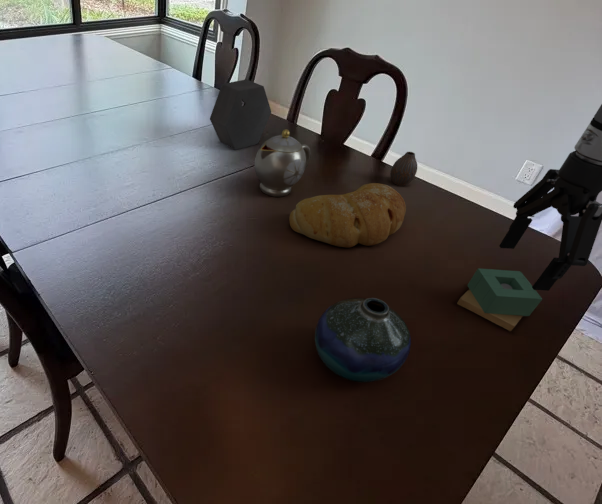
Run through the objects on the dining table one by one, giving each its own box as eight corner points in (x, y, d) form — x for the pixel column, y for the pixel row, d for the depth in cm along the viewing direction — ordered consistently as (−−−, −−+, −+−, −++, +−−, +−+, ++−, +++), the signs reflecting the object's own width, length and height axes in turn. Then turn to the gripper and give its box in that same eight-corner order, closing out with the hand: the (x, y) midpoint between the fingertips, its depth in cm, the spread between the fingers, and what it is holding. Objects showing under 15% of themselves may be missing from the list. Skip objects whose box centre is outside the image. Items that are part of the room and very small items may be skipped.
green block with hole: (508, 288, 94) (520, 271, 91) (528, 316, 88) (542, 299, 85) (467, 285, 94) (477, 268, 91) (484, 313, 88) (496, 295, 85)
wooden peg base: (477, 282, 97) (489, 264, 94) (529, 308, 92) (544, 289, 88) (456, 303, 92) (468, 284, 88) (510, 331, 87) (525, 312, 83)
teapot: (268, 207, 116) (280, 144, 105) (239, 185, 124) (247, 124, 112) (319, 193, 123) (335, 133, 112) (288, 173, 131) (300, 115, 120)
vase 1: (373, 330, 85) (400, 274, 75) (410, 393, 74) (446, 338, 64) (297, 333, 83) (314, 277, 73) (323, 399, 72) (347, 342, 63)
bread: (326, 262, 100) (338, 223, 93) (277, 220, 112) (285, 182, 105) (427, 234, 111) (445, 197, 104) (372, 198, 123) (385, 163, 116)
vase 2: (383, 182, 131) (394, 152, 125) (393, 175, 135) (404, 146, 128) (405, 190, 128) (417, 160, 121) (414, 183, 131) (427, 153, 125)
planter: (259, 117, 150) (241, 63, 132) (275, 125, 146) (258, 69, 128) (225, 153, 150) (202, 104, 132) (240, 162, 146) (219, 112, 128)
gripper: (535, 127, 78) (476, 231, 94) (625, 192, 61) (535, 308, 76) (577, 129, 78) (511, 233, 94) (679, 195, 61) (578, 310, 76)
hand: (522, 267), depth 85 cm, fingers open, 13 cm apart
